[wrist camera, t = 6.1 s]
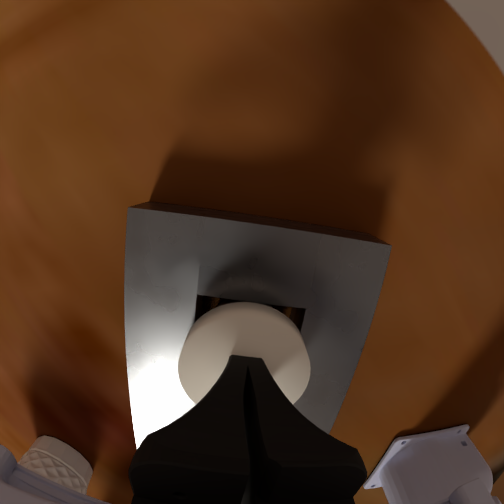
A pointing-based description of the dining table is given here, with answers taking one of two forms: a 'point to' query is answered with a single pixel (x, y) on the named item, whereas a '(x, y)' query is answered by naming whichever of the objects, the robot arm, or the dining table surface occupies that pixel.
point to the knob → (243, 347)
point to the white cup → (58, 463)
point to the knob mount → (243, 297)
